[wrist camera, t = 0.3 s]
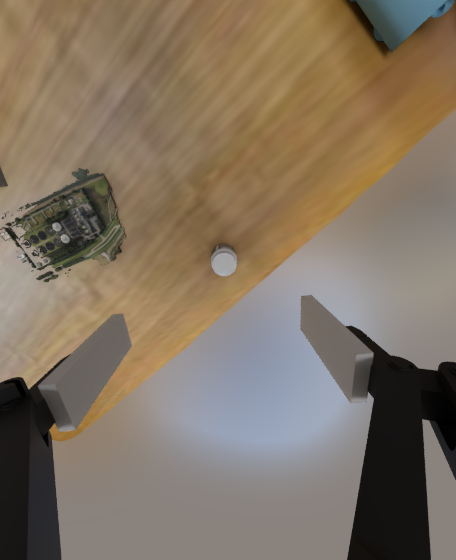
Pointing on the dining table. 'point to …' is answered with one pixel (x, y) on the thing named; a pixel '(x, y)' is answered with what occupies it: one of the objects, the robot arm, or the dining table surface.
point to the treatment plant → (72, 225)
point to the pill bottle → (223, 260)
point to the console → (2, 179)
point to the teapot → (400, 17)
